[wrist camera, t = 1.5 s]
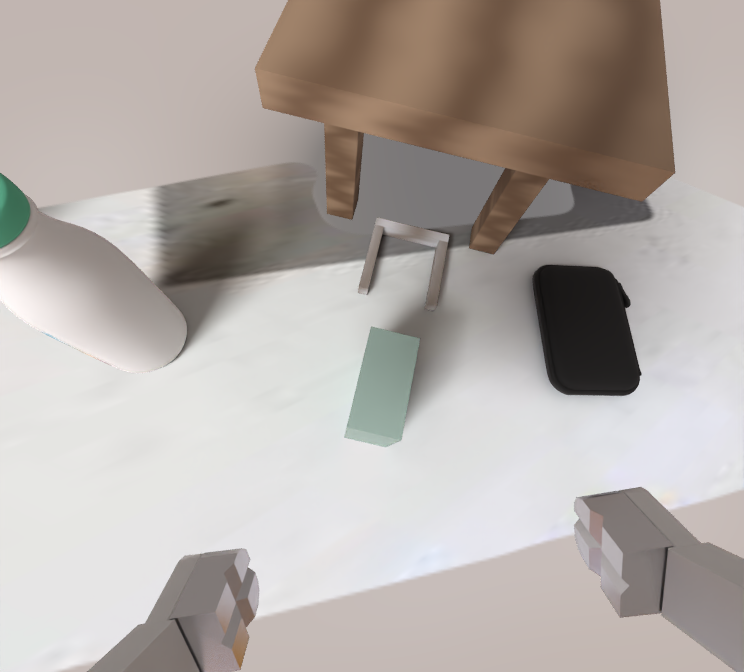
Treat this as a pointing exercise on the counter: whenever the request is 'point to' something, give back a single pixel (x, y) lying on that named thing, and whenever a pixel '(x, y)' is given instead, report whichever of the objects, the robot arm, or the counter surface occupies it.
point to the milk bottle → (83, 289)
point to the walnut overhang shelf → (479, 97)
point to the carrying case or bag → (585, 331)
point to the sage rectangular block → (383, 388)
